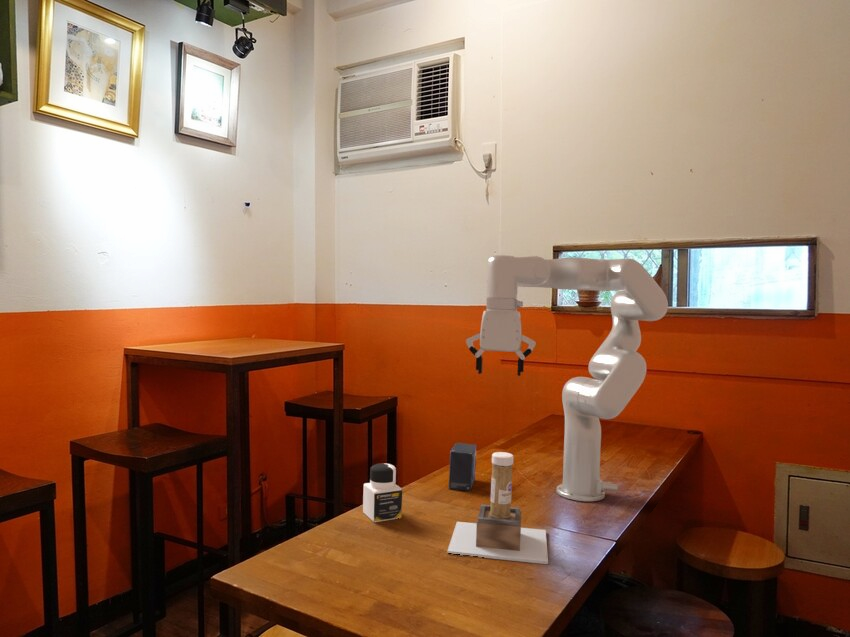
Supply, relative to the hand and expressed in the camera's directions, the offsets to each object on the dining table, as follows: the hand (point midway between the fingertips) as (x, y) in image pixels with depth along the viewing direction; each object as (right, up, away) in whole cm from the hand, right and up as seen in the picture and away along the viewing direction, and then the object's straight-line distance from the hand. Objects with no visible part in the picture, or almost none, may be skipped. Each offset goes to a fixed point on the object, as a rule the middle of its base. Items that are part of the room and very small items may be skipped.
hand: (499, 374), depth 145 cm
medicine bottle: (-29, -33, -7) cm, 44 cm away
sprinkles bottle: (-3, -29, -21) cm, 36 cm away
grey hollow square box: (-3, -34, -21) cm, 40 cm away
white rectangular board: (-3, -34, -21) cm, 40 cm away
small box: (-8, -33, +18) cm, 38 cm away
